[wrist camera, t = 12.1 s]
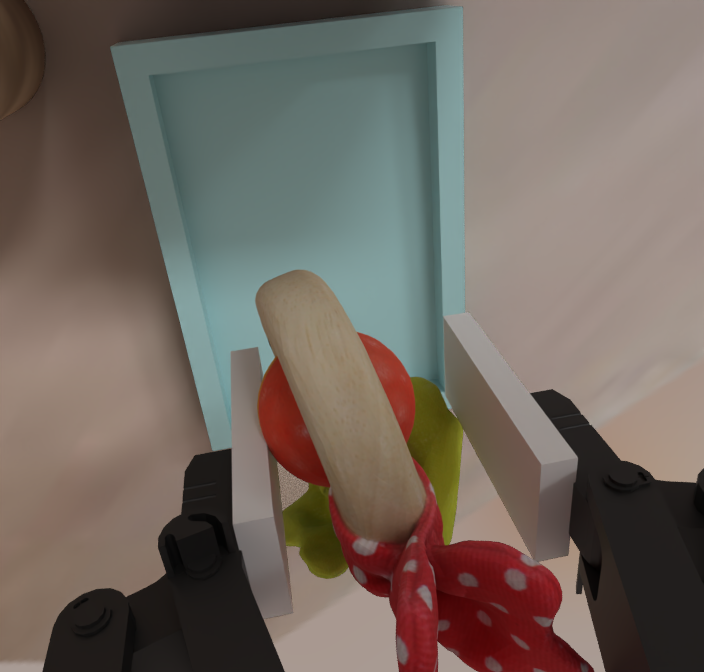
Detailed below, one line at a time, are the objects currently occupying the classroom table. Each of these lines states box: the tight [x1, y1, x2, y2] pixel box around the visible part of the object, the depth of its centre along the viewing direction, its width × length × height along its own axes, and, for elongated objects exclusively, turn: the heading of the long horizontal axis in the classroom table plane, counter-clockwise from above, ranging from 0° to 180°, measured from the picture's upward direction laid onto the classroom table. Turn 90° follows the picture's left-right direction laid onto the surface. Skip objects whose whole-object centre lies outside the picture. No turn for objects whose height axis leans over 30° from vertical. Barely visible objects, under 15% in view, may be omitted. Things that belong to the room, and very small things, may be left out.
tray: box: [110, 5, 465, 451], centre depth 27 cm, size 17×12×2 cm
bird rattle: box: [255, 270, 594, 672], centre depth 14 cm, size 6×11×9 cm
